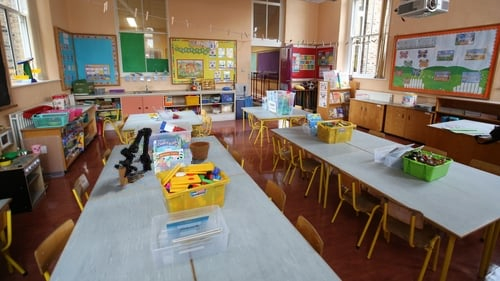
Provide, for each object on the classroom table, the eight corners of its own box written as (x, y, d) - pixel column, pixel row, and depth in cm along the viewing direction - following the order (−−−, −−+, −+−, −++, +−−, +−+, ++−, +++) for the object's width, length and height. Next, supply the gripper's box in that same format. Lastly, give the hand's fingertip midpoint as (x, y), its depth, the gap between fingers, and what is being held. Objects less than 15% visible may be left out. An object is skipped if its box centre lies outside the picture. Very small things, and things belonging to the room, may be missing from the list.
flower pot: (190, 154, 301) (190, 141, 297) (210, 153, 303) (210, 140, 299) (189, 161, 281) (187, 147, 277) (210, 160, 283) (209, 146, 279)
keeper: (132, 174, 249) (132, 170, 248) (143, 175, 246) (143, 171, 245) (122, 181, 235) (121, 176, 234) (133, 182, 233) (132, 177, 232)
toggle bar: (123, 183, 232) (121, 165, 228) (127, 183, 231) (125, 165, 227) (120, 185, 228) (117, 167, 224) (124, 185, 228) (122, 167, 223)
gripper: (113, 155, 229) (106, 172, 222) (133, 156, 225) (126, 174, 218) (121, 160, 239) (114, 177, 232) (140, 162, 235) (134, 179, 227)
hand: (122, 177), depth 227 cm, fingers closed on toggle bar, 4 cm apart
